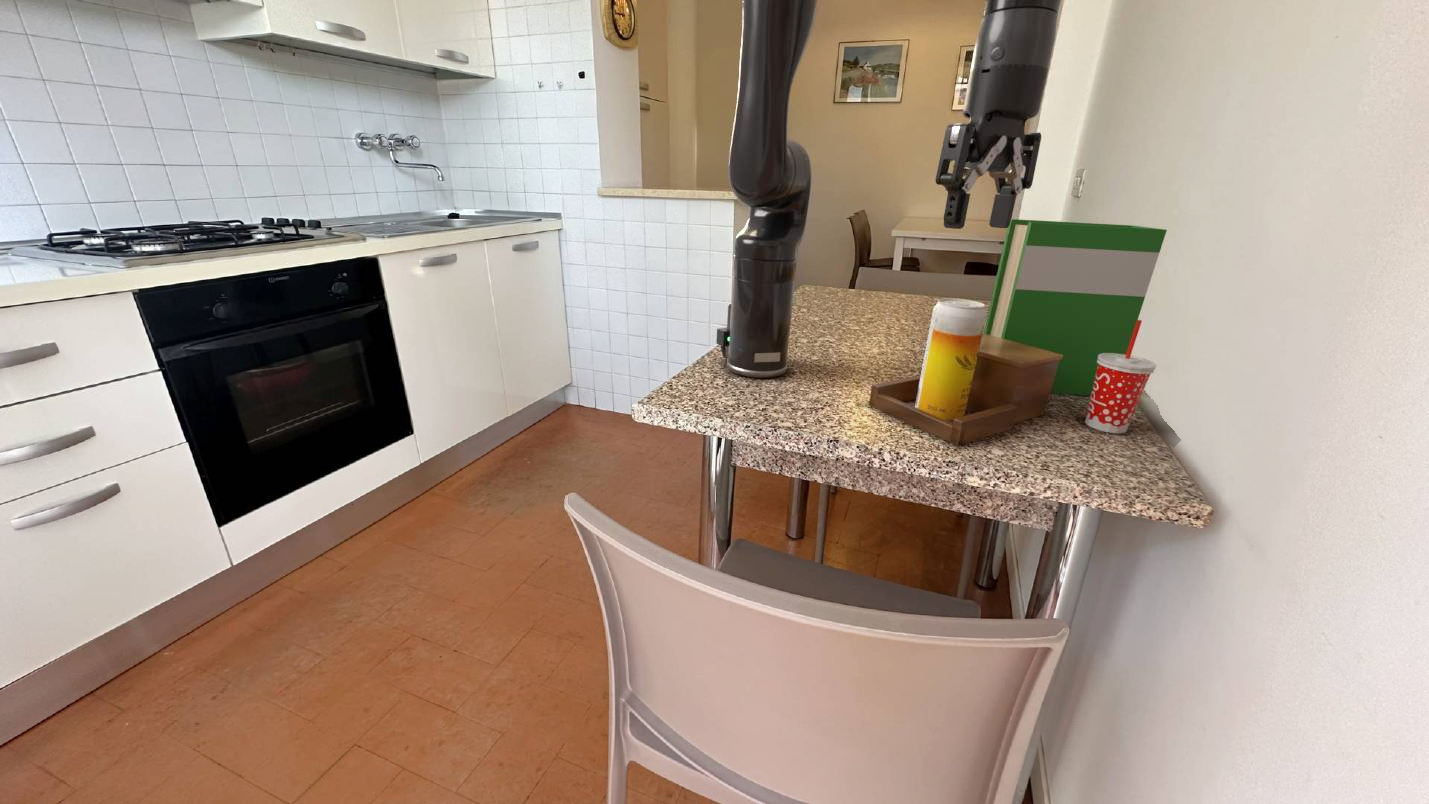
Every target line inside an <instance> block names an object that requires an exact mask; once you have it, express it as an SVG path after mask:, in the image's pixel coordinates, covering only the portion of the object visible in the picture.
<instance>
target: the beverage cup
mask: <svg viewBox="0 0 1429 804" xmlns="http://www.w3.org/2000/svg"><path fill="white" fill-rule="evenodd" d="M1142 321H1143V320H1142V319H1138V320H1137V323H1136V326H1135V329H1134V332H1133V335H1132V338H1131V341H1130V344H1129V347H1128V350H1127V354H1126V355H1124V354H1115V353H1102V354H1099V355H1098V360H1097V363H1098V368H1097V372H1096V377H1095V381H1094V385H1093V390H1092V394H1091V395H1090V399H1089V403H1088V407H1087V412H1086V416H1085V419H1084V423H1085V425H1087V426H1088V427H1089V428H1092V429H1094V430H1097V431H1101V432H1105V433H1110V434H1124V433H1126V432H1127V431H1128V427H1129V426H1130V423H1131V421H1132V418H1133V416H1134V415H1135V411H1136V409H1137V407H1138V405H1139V402H1140V399H1141V398H1142V395H1143V393H1144V390H1145V388H1146V386H1147V384H1148V381H1149V379H1150V376H1151V374H1154V373H1155V370H1156V369H1157V363H1155V362H1154V361H1151V360H1149V359H1145V358H1144V357H1143V358H1142V357H1138V356H1134V355H1132V352H1133V350H1134V346H1135V343H1136V340H1137V337H1138V334H1139V331H1140V328H1141V325H1142Z"/></svg>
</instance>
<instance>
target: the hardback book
mask: <svg viewBox="0 0 1429 804" xmlns="http://www.w3.org/2000/svg"><path fill="white" fill-rule="evenodd" d="M1167 231H1168V230H1167V229H1166V228H1165V229H1164V228H1158V227H1157V228H1156V227H1148V226H1141V225H1129V224H1113V223H1112V224H1111V223H1093V222H1076V221H1073V222H1072V221H1057V220H1056V221H1055V220H1036V219H1035V220H1033V219H1019V218H1017V219H1016V218H1011V222H1010V225H1009V227H1008V228H1006V232H1005V237H1004V242H1003V247H1002V250H1001V255H1000V260H999V264H998V269H997V272H996V276H995V282H994V285H993V286H994V287H993V291H992V295H991V299H990V304H989V308H988V312H987V316H986V321H985V325H984V330H983V333H984V334H987V335H991V336H995V337H999V338H1002V339H1006V340H1010V341H1013V342H1017V343H1021V344H1025V345H1028V346H1032V347H1036V348H1039V349H1043V350H1047V351H1051V352H1054V353H1058V354H1062V355H1063V358H1062V359H1060V360H1059V364H1058V367H1057V371H1056V375H1055V378H1054V382H1053V385H1052V389H1051V392H1050V394H1062V395H1063V394H1064V395H1078V396H1091V394H1092V390H1093V385H1094V381H1095V377H1096V372H1097V368H1098V363H1097V360H1098V355H1099V354H1102V353H1115V354H1124V355H1126V354H1127V350H1128V347H1129V344H1130V341H1131V338H1132V335H1133V332H1134V329H1135V326H1136V323H1137V320H1139V317H1140V314H1141V311H1142V308H1143V305H1144V302H1145V299H1146V296H1147V292H1148V290H1149V287H1150V284H1151V280H1152V277H1153V274H1154V271H1155V268H1156V264H1157V262H1158V260H1159V255H1160V253H1161V249H1162V246H1163V243H1164V240H1165V237H1166V233H1167Z"/></svg>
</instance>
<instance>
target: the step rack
mask: <svg viewBox="0 0 1429 804" xmlns="http://www.w3.org/2000/svg"><path fill="white" fill-rule="evenodd" d="M1062 358H1063V355H1062V354H1058V353H1054V352H1051V351H1047V350H1043V349H1039V348H1036V347H1032V346H1028V345H1025V344H1021V343H1017V342H1013V341H1010V340H1006V339H1002V338H999V337H995V336H991V335H987V334H984V332H983V334H982V338H981V343H980V347H979V352H978V356H977V361H976V365H975V370H974V374H973V379H972V383H971V387H970V392H969V396H968V401H967V405H966V410H965V411H966V412H969V413H970V414H966V415H964V416H963V417H959V418H955V419H954V421H953V423H951V422H948V421H946V420H944V419H941V418H939V417H937V416H934V415H932V414H930V413H927V412H925V411H923V410H920V409H918V408H916V407H915V406H913V405H911V404H908V403H905V402H907V401H912V400H916V398H917V393H918V387H919V382H920V377H921V374H919V375H914V376H908V377H903V378H898V379H894V380H889V381H884V382H879V383H878V382H877V383H874V384H871V389H870V395H869V401H868V406H870V407H872V408H874V409H876V410H879V411H881V412H882V413H885V414H887V415H889V416H892V417H894V418H896V419H898V420H899V421H903V422H905V423H907V424H910V425H911V426H914V427H915V428H917V429H920V430H922V431H925V432H926V433H928V434H931V435H933V436H935V437H937V438H939V439H942V440H943V441H947V442H948V443H951V444H953V445H954V446H957V447H959V446H961V445H965V444H968V443H971V442H975V441H977V440H981V439H985V438H988V437H990V436H993V435H997V434H1000V433H1003V432H1007V431H1010V430H1013V428H1014V424H1015V423H1019V422H1023V421H1026V420H1029V419H1032V418H1036V417H1039V416H1043V415H1045V414H1046V410H1047V406H1048V403H1049V399H1050V396H1051V393H1050V392H1051V389H1052V385H1053V382H1054V378H1055V375H1056V371H1057V367H1058V364H1059V360H1060V359H1062Z"/></svg>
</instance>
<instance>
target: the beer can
mask: <svg viewBox="0 0 1429 804" xmlns="http://www.w3.org/2000/svg"><path fill="white" fill-rule="evenodd" d="M987 317H988V314H987V312H986V305H985V303H982V302H980V301H976V300H970V299H965V298H955V297H954V298H952V297H951V298H950V297H949V298H948V297H947V298H946V297H945V298H944V297H943V298H939V299H938V301H937V303H936V304H935V305H934V307H933V309H932V314H931V319H930V325H929V329H928V335H927V339H926V345H925V350H924V355H923V362H922V366H921V372H920V375H921V377H920V382H919V387H918V393H917V398H916V399H915V404H914V407H916V408H918V409H920V410H923V411H925V412H927V413H930V414H932V415H934V416H937V417H939V418H941V419H944V420H946V421H948V422H951V423H953V421H954V419H955V418H959V417H963V416H965V413H966V411H967V410H966V405H967V401H968V396H969V392H970V387H971V383H972V379H973V374H974V370H975V365H976V361H977V356H978V352H979V347H980V343H981V338H982V334H983V333H984V330H985V325H986V321H987Z"/></svg>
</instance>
